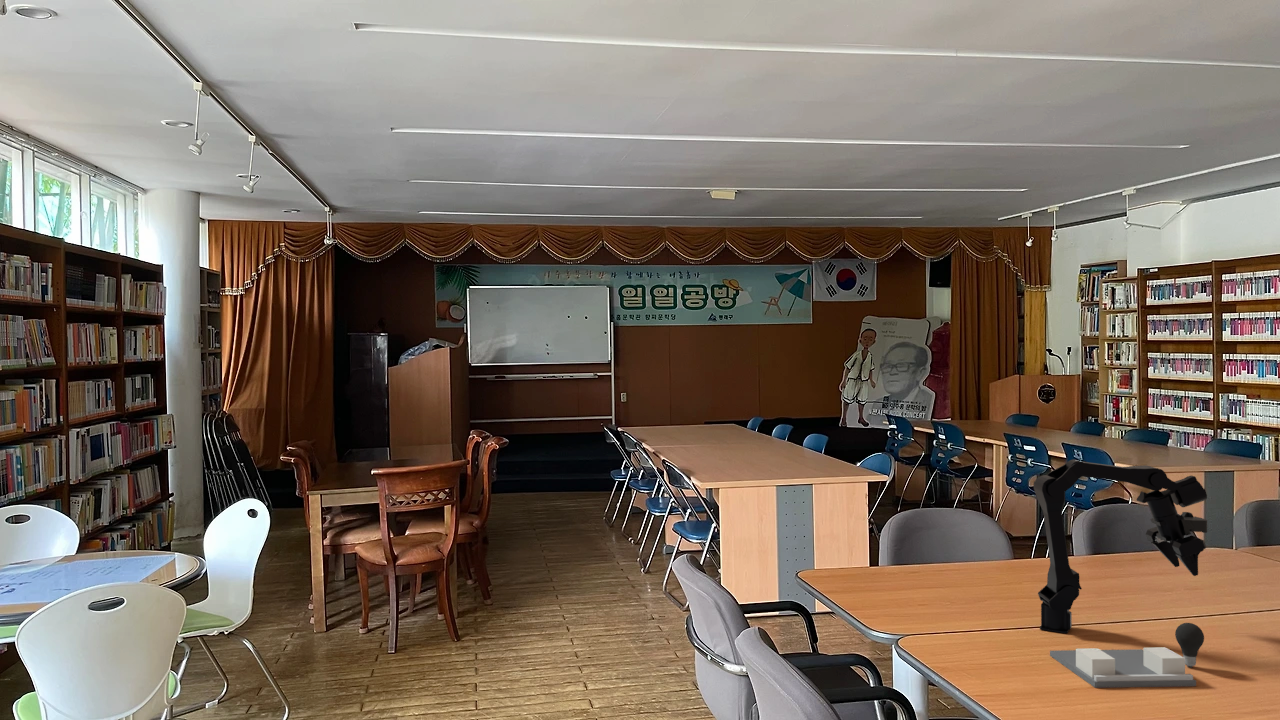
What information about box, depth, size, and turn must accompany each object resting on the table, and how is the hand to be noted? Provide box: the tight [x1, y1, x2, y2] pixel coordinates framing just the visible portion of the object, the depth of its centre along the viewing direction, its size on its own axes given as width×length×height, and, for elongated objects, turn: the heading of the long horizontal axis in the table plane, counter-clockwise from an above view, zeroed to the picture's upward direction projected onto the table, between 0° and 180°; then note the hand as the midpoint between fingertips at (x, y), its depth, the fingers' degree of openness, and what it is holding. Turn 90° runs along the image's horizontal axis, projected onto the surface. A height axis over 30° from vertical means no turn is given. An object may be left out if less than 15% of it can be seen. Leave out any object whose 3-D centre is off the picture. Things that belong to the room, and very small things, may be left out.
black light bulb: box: [1174, 622, 1205, 668], centre depth 201 cm, size 6×6×10 cm
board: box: [1049, 646, 1197, 689], centre depth 200 cm, size 20×22×5 cm
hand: (1186, 570), depth 226 cm, fingers open, 9 cm apart
